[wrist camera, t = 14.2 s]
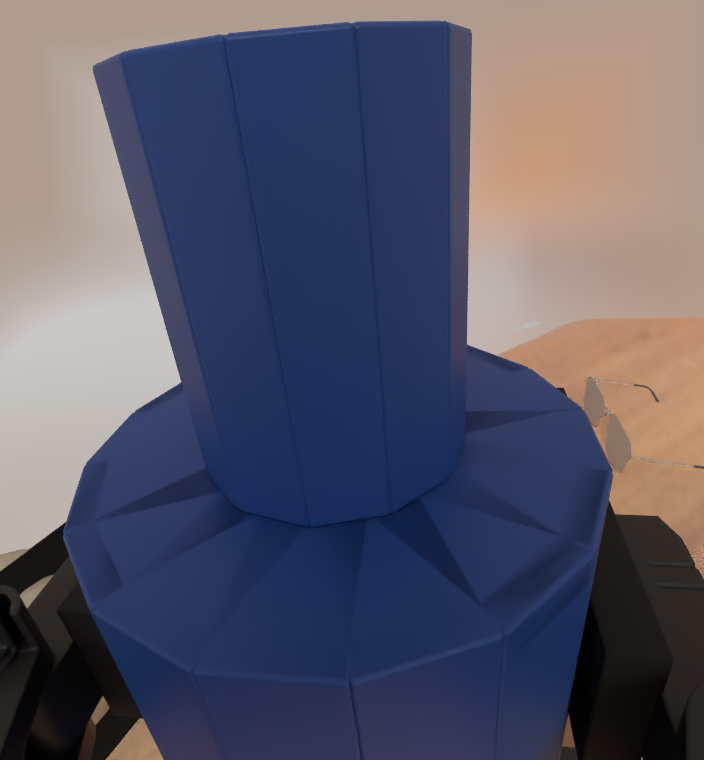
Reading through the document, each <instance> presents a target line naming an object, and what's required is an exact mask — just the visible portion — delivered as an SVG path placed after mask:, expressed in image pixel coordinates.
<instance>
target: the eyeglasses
mask: <svg viewBox="0 0 704 760" xmlns="http://www.w3.org/2000/svg"><path fill="white" fill-rule="evenodd" d="M585 381H586V382H587V385H586V391H585V397H584V408H585V412H586V414H587V417H588V419H589V420H590V422H591V423H592V424H593V425H594V426H597V425H598V424H599V422H600V421H601V419H602V418H603V416H604V414H605V413H604V411H605V408H606V409H607V410H608V413H607V412H606V414H605V416H606V417H605V419H604V421H605V420H606V419H607V418H608V416H609V415H610V417H609V421H608V427H607V433H606V450H607V453H608V456H609V458H610V461H611V463H612V464H613V466H614V468H615V469H616V471H617V472H619V473H622V472H623V471H624V470H625V468H626V466H627V464H628V462H629V460H630V458H631V459H633V460H637V461H646V462H655V463H663V464H671V465H680V466H688V467H694V468H702V469H704V467H703V466H695V465H694V466H693V465H686V464H679V463H672V462H665V461H658V460H652V459H645V458H638V457H634V456H633V455H632V450H633V448H632V444H631V441H630V439H629V437H628V435H627V433H626V431H625V429H624V428H623V426H622V424H621V422H620V421H619V419H618V418H617V416H616V415H615V414H611V410H610V409H609V408H607V407H606V403H605V398H604V396H603V394H602V392H601V390H600V388H599V387H598V385H597V384H596V382H595V381H602V382H610V383H618V384H627V385H634V386H639V387H645V388H648V389H649V390H650V391H651V393H652V394H653V396H654V398H655V400H656V401H657V402H659V400H658V399H657V397H656V395H655V394H654V392H653V391H652V390H651V389H650V388H649V387H647V386H643V385H637V384H628V383H621V382H614V381H607V380H600V379H593V378H592V377H590V376H589V377H588V378H586V379H585Z"/></svg>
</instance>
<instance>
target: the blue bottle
mask: <svg viewBox="0 0 704 760" xmlns="http://www.w3.org/2000/svg"><path fill="white" fill-rule="evenodd" d="M471 46H472V33H471V30H470V29H467V28H464V27H461V26H458V25H455V24H452V23H449V22H446V21H377V22H376V21H374V22H373V21H372V22H354V23H349V22H344V23H334V24H323V25H313V26H302V27H291V28H282V29H281V28H280V29H270V30H259V31H248V32H238V33H229V34H227V35H215V36H208V37H203V38H197V39H191V40H185V41H180V42H174V43H168V44H163V45H157V46H151V47H145V48H139V49H134V50H129V51H125V52H122V53H120V54H117V55H115V56H113V57H111V58H109V59H106V60H104V61H102V62H100V63H97V64H96V65H94V66H93V73H94V76H95V79H96V83H97V86H98V90H99V94H100V97H101V101H102V104H103V108H104V111H105V115H106V118H107V122H108V125H109V129H110V132H111V136H112V139H113V143H114V146H115V150H116V153H117V157H118V161H119V164H120V167H121V171H122V175H123V178H124V181H125V185H126V189H127V192H128V196H129V199H130V203H131V206H132V210H133V213H134V217H135V220H136V223H137V227H138V231H139V234H140V238H141V241H142V245H143V248H144V252H145V255H146V259H147V263H148V266H149V270H150V273H151V276H152V280H153V283H154V287H155V291H156V294H157V298H158V301H159V305H160V308H161V312H162V315H163V318H164V322H165V326H166V329H167V333H168V336H169V340H170V343H171V347H172V350H173V354H174V358H175V361H176V365H177V368H178V371H179V375H180V379H181V383H180V384H178V385H177V386H175V387H173V388H172V389H170V390H168V391H167V392H165V393H164V394H162V395H160V396H159V397H157V398H155V399H154V400H152V401H151V402H149V403H147V404H146V405H144V406H142V407H141V408H139V409H138V410H136V411H135V413H132V414H131V415H130V417H128V419H127V420H126V421H125V422H124V423H123V424H122V425H121V426H120V427H119V428H118V429H117V430H116V431H115V433H114V434H113V435H112V436H111V437H110V438H109V439H108V440H107V441H106V442H105V443H104V444H103V446H102V447H101V448H100V449H99V450H98V451H97V452H96V453H95V454H94V455H93V456H92V458H91V459H90V460H89V461H88V462H87V463H86V466H84V469H83V472H82V475H81V478H80V481H79V484H78V487H77V490H76V494H75V496H74V500H73V503H72V506H71V509H70V512H69V515H68V518H67V521H66V524H65V527H64V530H63V533H64V535H63V539H64V542H65V545H66V548H67V550H68V553H69V556H70V559H71V562H72V564H73V567H74V570H75V573H76V575H77V578H78V581H79V584H80V587H81V589H82V592H83V595H84V598H85V600H86V603H87V606H88V609H89V611H90V613H91V615H92V617H93V619H94V621H95V623H96V625H97V627H98V629H99V631H100V633H101V635H102V637H103V639H104V641H105V643H106V645H107V647H108V649H109V651H110V653H111V655H112V657H113V659H114V661H115V663H116V665H117V667H118V669H119V671H120V673H121V675H122V677H123V679H124V681H125V683H126V685H127V687H128V689H129V691H130V693H131V695H132V697H133V699H134V701H135V703H136V705H137V707H138V709H139V711H140V713H141V715H142V717H143V719H144V721H145V723H146V725H147V727H148V729H149V731H150V733H151V735H152V737H153V739H154V741H155V743H156V745H157V747H158V749H159V750H160V752H161V754H162V756H163V758H164V760H559V759H560V754H561V749H562V743H563V738H564V733H565V728H566V722H567V717H568V712H569V706H570V701H571V696H572V691H573V685H574V680H575V675H576V670H577V664H578V659H579V654H580V648H581V643H582V638H583V633H584V627H585V622H586V617H587V611H588V606H589V601H590V596H591V590H592V585H593V580H594V575H595V569H596V564H597V559H598V553H599V548H600V543H601V538H602V532H603V527H604V522H605V516H606V511H607V506H608V501H609V495H610V490H611V485H612V479H613V474H612V468H611V466H610V464H609V462H608V460H607V458H606V456H605V453H604V451H603V449H602V447H601V445H600V443H599V441H598V439H597V437H596V435H595V432H594V430H593V428H592V426H591V424H590V422H589V420H588V418H587V416H586V414H585V411H584V410H582V408H581V407H580V406H579V405H577V404H576V403H575V402H574V401H572V400H571V399H570V398H568V397H567V396H566V395H564V394H563V393H562V392H560V391H559V390H558V389H557V388H555V387H554V386H553V385H551V384H550V383H549V382H547V381H546V380H545V379H543V378H542V377H541V376H540V375H538V374H537V373H536V372H534V371H533V370H532V369H529V368H528V367H526V366H523V365H520V364H518V363H515V362H512V361H509V360H507V359H504V358H501V357H499V356H496V355H493V354H491V353H488V352H485V351H482V350H479V349H477V348H474V347H471V346H469V345H467V301H468V300H467V298H468V237H469V236H468V235H469V175H470V174H469V173H470V112H471V110H470V109H471V105H470V104H471Z"/></svg>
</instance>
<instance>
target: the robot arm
mask: <svg viewBox="0 0 704 760" xmlns="http://www.w3.org/2000/svg"><path fill="white" fill-rule="evenodd" d="M557 389H558V390H559V391H560V392H562V393H563V394H564V395H566V393H565V390H564V388H557ZM566 396H567V395H566ZM102 696H103V697H104V699H105V700H106V702H107V704H108V706H109V708H110V709H111V711H112V713H113V715H118V716H127V717H135V718H143V717H142V715H141V713H140V711H139V709H138V707H137V705H136V703H135V701H134V699H133V697H132V695H131V693H130V691H129V689H128V687H127V685H126V683H125V681H124V679H123V677H122V675H121V673H120V671H119V669H118V667H117V665H116V663H115V661H114V659H113V657H112V655H111V653H110V651H109V649H108V647H107V645H106V643H105V641H104V639H103V637H102V635H101V633H100V631H99V629H98V627H97V625H96V623H95V621H94V619H93V617H92V615H91V613H90V611H89V609H88V606H87V603H86V600H85V598H84V595H83V592H82V589H81V587H80V584H79V581H78V578H77V575H76V573H75V570H74V567H73V564H72V562H71V559H70V556H69V557H68V558H67V559H66V560H65V562H64V563H63V564H62V565H61V567H60V568H59V569H58V570H57V572H56V573H55V574H54V575H53V577H52V578H51V579H50V580H49V582H48V583H47V584H46V585H45V587H44V588H43V589H42V590H41V592H40V593H39V594H38V595H37V597H36V598H35V599H34V600H33V602H32V603H31V604H30V605H29V607H28V608H27V607H26V606H25V604H24V602H23V601H22V599H21V597H20V595H19V594H18V592H17V590H16V589H14V588H11V587H9V586H6V585H0V760H91V757H92V753H93V748H94V744H95V734H96V726H95V724H94V722H93V720H92V718H91V716H92V714H93V713H94V711H95V709H96V707H97V705H98V704H99V702H100V700H101V698H102ZM568 713H569V717H570V722H571V727H572V732H573V737H574V742H575V747H576V752H577V757H578V760H641V758H643V760H704V579H703V578H702V576H701V574H700V572H699V570H698V569H696V568H695V563H694V561H693V559H692V557H691V555H690V553H689V551H688V549H687V548H686V546H685V544H684V542H683V540H682V538H681V537H680V536H679V535H677V534H676V533H675V532H674V531H673V530H672V529H671V528H670V527H669V526H668V525H667V524H665V523H664V522H663V521H662V520H661V519H660V518H659V517H658V516H640V515H615V514H614V511H613V509H612V506H611V504H610V501H608V506H607V511H606V516H605V522H604V527H603V532H602V538H601V543H600V548H599V553H598V559H597V564H596V569H595V575H594V580H593V585H592V590H591V596H590V601H589V606H588V611H587V617H586V622H585V627H584V633H583V638H582V643H581V648H580V654H579V659H578V664H577V670H576V675H575V680H574V685H573V691H572V696H571V701H570V706H569V712H568Z"/></svg>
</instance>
